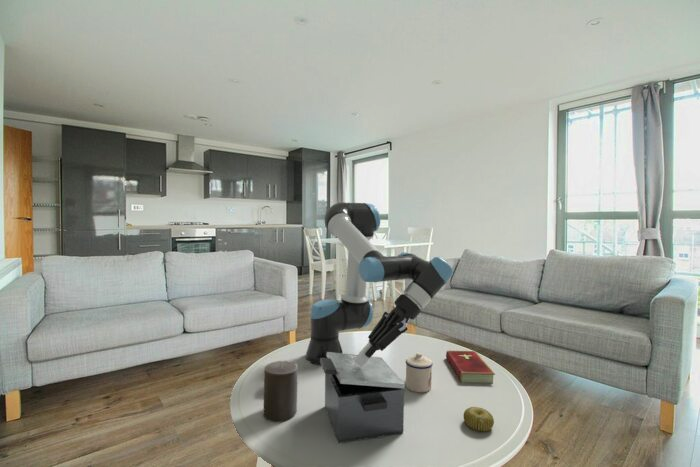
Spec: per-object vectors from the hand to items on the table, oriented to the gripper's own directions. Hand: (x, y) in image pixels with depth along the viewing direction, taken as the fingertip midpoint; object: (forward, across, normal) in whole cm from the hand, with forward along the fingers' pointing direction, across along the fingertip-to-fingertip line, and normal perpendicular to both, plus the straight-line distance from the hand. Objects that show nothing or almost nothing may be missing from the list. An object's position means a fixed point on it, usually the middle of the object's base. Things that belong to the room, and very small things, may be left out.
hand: (357, 363), depth 96 cm
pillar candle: (+26, +10, +3) cm, 28 cm away
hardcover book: (-24, +22, -49) cm, 58 cm away
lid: (+1, +1, -2) cm, 2 cm away
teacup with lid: (-7, +16, -31) cm, 35 cm away
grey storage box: (+11, +1, -13) cm, 17 cm away
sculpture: (-11, -10, -35) cm, 38 cm away
